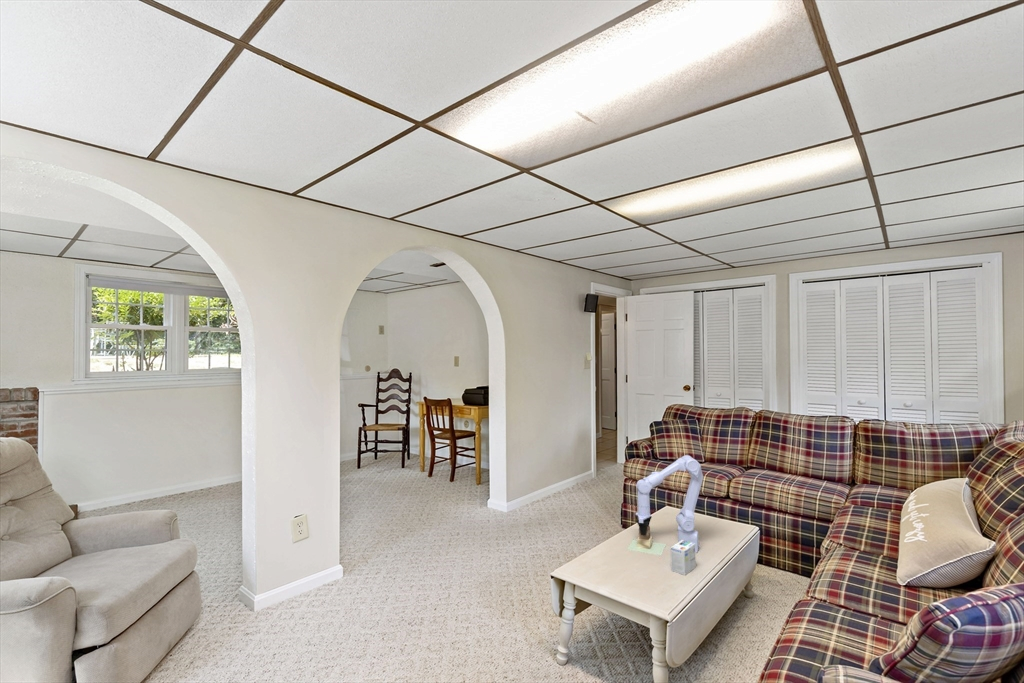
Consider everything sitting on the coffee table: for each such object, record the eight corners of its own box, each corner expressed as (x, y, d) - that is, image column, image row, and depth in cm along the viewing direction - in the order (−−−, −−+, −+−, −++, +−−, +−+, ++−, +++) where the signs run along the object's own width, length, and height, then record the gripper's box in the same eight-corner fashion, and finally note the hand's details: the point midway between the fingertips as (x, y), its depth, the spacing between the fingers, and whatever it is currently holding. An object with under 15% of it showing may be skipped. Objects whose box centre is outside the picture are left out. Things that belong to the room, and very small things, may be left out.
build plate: (666, 546, 234) (666, 544, 234) (661, 557, 221) (661, 555, 221) (633, 541, 241) (633, 539, 241) (626, 551, 229) (626, 549, 229)
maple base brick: (652, 544, 234) (652, 536, 234) (650, 549, 228) (649, 540, 229) (640, 542, 237) (639, 534, 237) (637, 547, 231) (637, 538, 231)
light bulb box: (681, 563, 215) (681, 539, 216) (696, 567, 210) (695, 543, 211) (670, 571, 208) (669, 546, 208) (685, 576, 203) (684, 550, 203)
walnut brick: (650, 536, 234) (650, 526, 234) (648, 540, 230) (648, 529, 230) (641, 535, 236) (640, 525, 236) (639, 538, 232) (638, 528, 232)
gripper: (638, 499, 241) (639, 526, 241) (632, 508, 228) (632, 537, 228) (653, 501, 238) (653, 528, 238) (647, 510, 225) (647, 539, 225)
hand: (644, 533), depth 233 cm, fingers closed on walnut brick, 4 cm apart
